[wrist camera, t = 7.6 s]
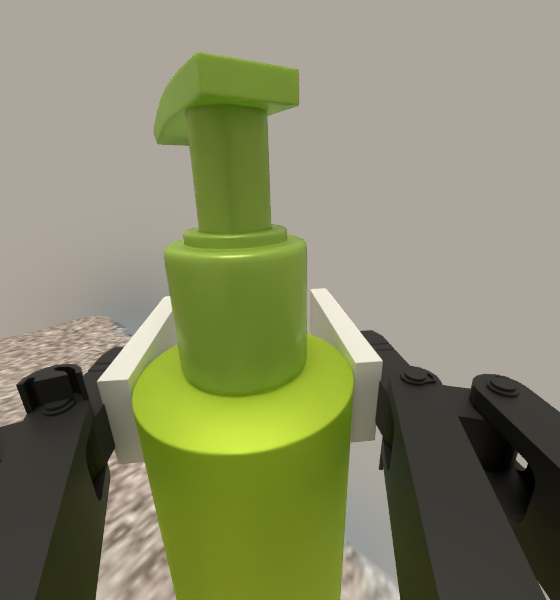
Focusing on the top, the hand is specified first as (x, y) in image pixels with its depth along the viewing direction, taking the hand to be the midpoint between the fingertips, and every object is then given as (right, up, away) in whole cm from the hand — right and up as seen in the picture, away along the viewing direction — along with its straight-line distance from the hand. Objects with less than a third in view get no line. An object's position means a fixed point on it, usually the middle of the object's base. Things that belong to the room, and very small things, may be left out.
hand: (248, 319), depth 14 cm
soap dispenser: (+1, -13, -1) cm, 13 cm away
